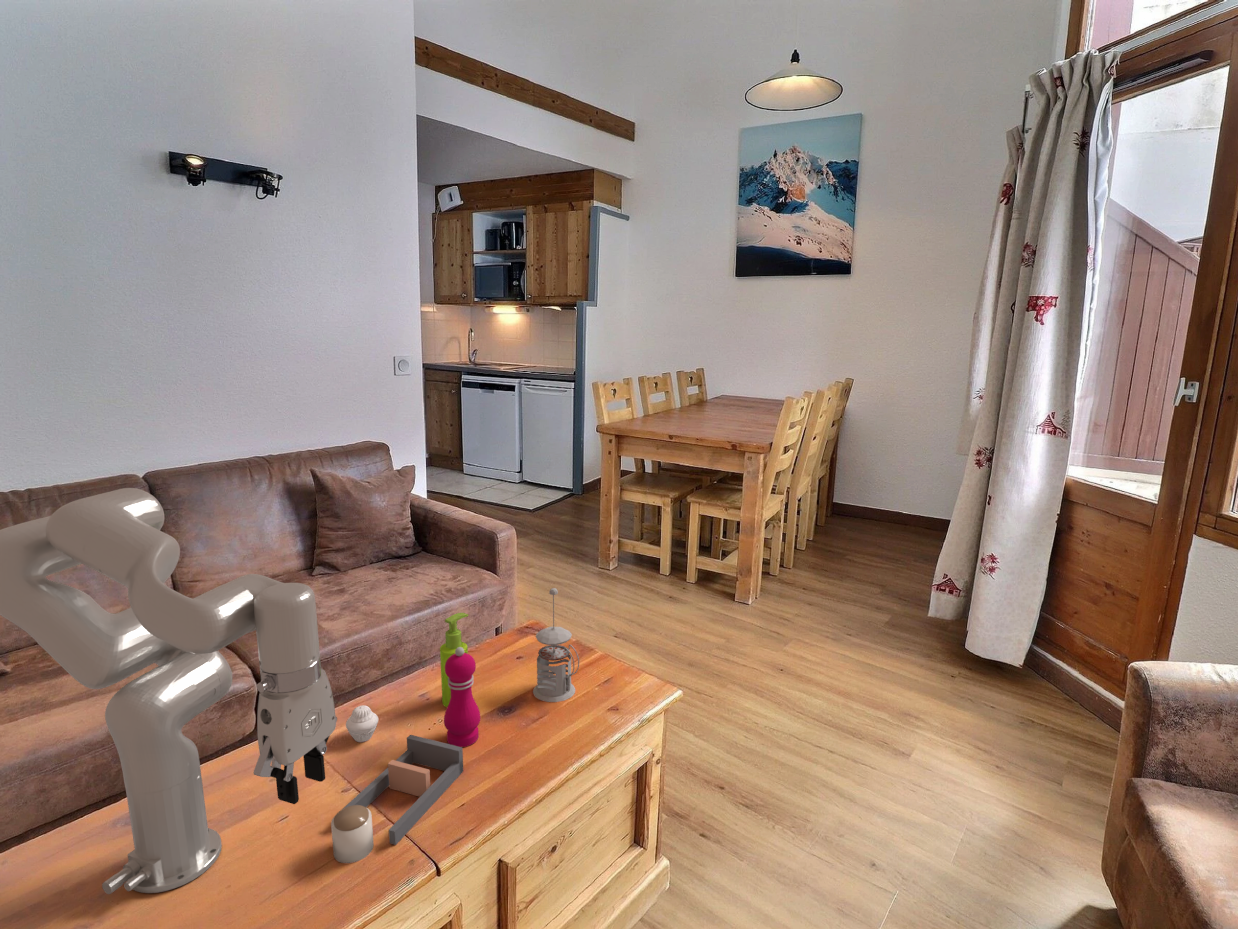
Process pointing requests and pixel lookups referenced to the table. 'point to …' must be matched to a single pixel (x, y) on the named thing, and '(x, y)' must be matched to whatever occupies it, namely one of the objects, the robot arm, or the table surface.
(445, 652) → the soap dispenser
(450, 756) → the frame
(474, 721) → the pepper mill
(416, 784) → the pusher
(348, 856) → the jar
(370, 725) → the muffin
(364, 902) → the table surface
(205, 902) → the table surface
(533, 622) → the table surface
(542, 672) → the french press
